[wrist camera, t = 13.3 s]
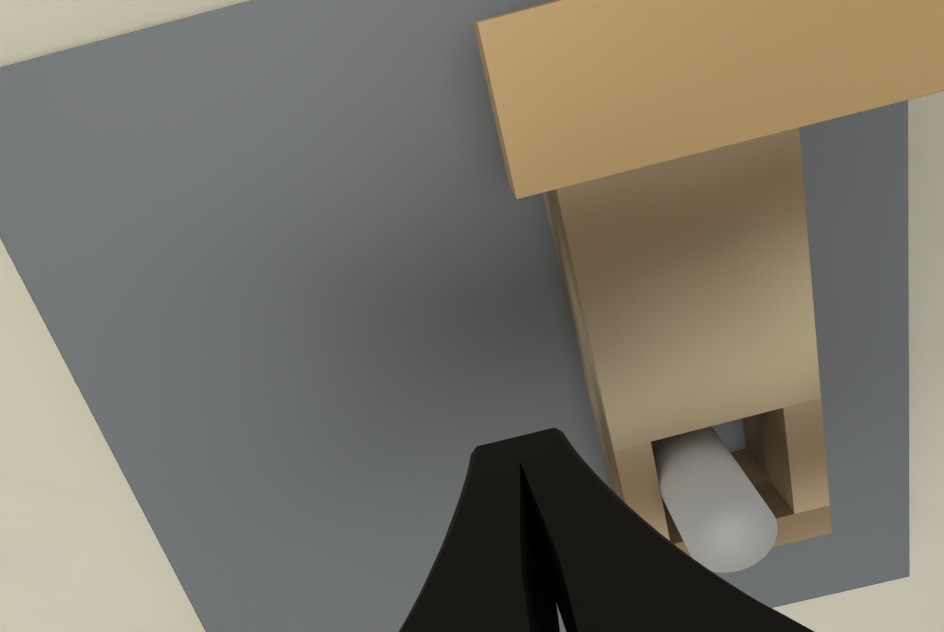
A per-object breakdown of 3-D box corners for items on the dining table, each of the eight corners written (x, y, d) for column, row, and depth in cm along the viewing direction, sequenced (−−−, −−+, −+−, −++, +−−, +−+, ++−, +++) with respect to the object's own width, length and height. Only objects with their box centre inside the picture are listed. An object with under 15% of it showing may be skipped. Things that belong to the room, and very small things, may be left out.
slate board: (878, -165, 16) (1116, -259, 11) (891, 554, 24) (1028, 714, 19) (-51, 84, 17) (-282, 117, 11) (261, 700, 25) (214, 894, 20)
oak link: (778, 465, 21) (832, 532, 19) (614, 507, 22) (642, 579, 19) (721, -47, 16) (783, -60, 13) (502, 16, 16) (518, 15, 13)
